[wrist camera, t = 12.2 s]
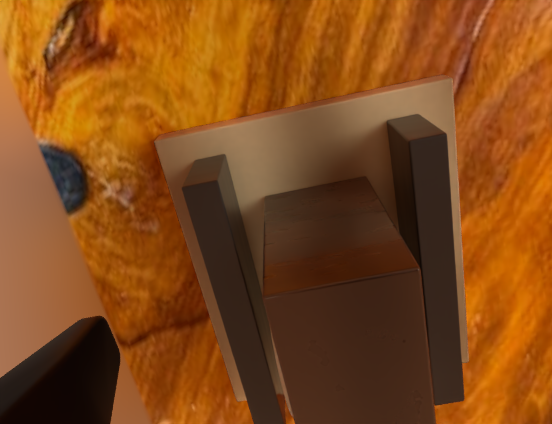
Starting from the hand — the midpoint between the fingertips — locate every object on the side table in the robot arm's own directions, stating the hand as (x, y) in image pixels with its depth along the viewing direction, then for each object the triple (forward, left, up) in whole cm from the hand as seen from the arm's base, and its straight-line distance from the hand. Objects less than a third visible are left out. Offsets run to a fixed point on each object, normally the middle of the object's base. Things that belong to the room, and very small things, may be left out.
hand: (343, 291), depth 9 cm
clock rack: (0, -5, -11) cm, 12 cm away
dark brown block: (0, -5, -10) cm, 11 cm away
